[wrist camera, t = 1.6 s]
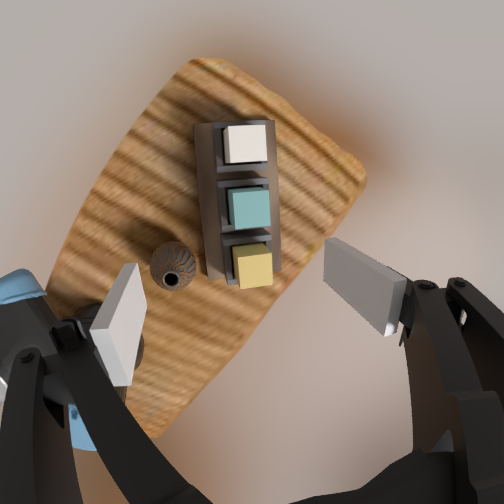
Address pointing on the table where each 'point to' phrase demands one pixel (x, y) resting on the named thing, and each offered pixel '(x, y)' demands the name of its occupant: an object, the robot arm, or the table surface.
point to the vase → (172, 266)
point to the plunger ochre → (252, 265)
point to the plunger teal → (249, 207)
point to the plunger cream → (245, 143)
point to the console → (216, 197)
